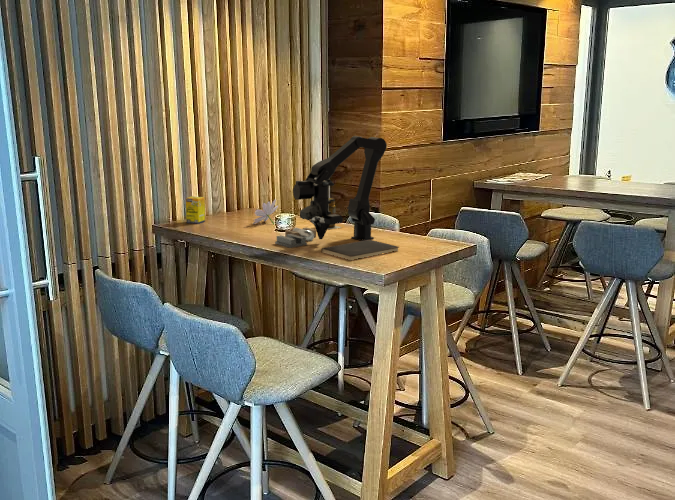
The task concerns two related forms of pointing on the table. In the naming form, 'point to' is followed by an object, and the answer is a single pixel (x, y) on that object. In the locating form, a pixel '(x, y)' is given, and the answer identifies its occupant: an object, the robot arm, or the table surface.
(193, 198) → the supplement box
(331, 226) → the condiment
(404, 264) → the table surface
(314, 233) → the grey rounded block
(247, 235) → the table surface
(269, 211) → the water lily
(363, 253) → the hardcover book
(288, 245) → the v block
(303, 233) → the axle
